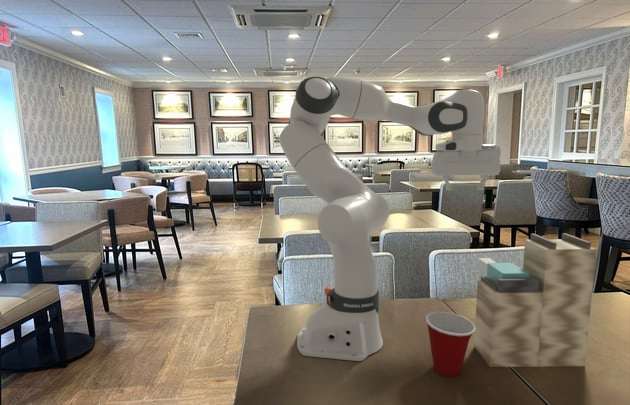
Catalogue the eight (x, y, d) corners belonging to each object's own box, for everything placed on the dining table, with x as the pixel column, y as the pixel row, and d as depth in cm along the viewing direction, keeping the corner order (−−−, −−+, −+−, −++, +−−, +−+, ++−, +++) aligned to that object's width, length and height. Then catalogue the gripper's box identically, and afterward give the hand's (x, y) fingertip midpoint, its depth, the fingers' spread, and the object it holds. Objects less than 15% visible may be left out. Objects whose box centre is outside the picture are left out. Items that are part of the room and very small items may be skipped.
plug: (501, 290, 89) (502, 273, 88) (472, 266, 106) (473, 252, 105) (527, 289, 89) (529, 273, 88) (494, 266, 106) (495, 252, 105)
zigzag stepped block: (489, 366, 90) (497, 243, 86) (474, 346, 99) (480, 234, 95) (584, 366, 90) (597, 242, 86) (560, 346, 99) (570, 233, 94)
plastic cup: (474, 388, 82) (477, 335, 81) (422, 378, 86) (423, 327, 84) (472, 361, 92) (474, 313, 91) (425, 353, 96) (426, 308, 94)
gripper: (496, 144, 121) (493, 188, 123) (430, 145, 121) (429, 189, 123) (505, 144, 115) (503, 190, 117) (436, 145, 115) (435, 191, 117)
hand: (464, 189), depth 120 cm, fingers open, 8 cm apart
